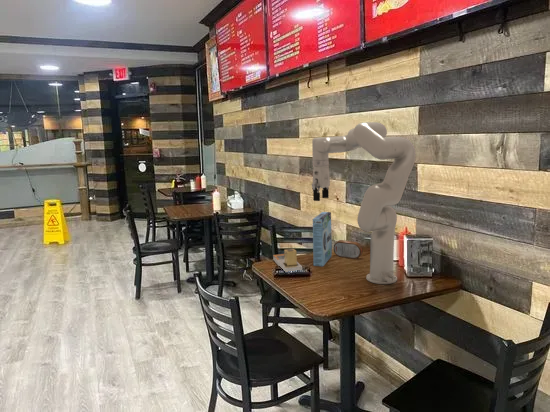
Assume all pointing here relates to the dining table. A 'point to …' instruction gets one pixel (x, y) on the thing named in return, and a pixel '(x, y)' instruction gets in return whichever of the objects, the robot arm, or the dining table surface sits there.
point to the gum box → (322, 239)
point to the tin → (348, 249)
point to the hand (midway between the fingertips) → (321, 199)
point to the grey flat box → (281, 262)
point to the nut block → (290, 257)
